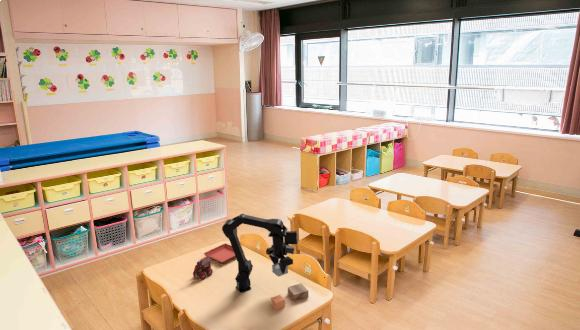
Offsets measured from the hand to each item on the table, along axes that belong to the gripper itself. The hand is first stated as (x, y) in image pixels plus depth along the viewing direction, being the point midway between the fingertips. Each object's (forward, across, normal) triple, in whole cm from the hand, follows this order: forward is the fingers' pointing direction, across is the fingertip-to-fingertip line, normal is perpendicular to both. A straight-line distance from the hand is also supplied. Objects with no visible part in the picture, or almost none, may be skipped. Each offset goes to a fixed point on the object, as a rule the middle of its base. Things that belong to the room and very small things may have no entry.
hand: (280, 270), depth 215 cm
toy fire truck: (+11, +38, +30) cm, 50 cm away
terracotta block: (+12, -11, +8) cm, 18 cm away
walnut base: (+12, -9, -5) cm, 16 cm away
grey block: (+1, 0, 0) cm, 1 cm away
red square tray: (+11, +53, +11) cm, 55 cm away
